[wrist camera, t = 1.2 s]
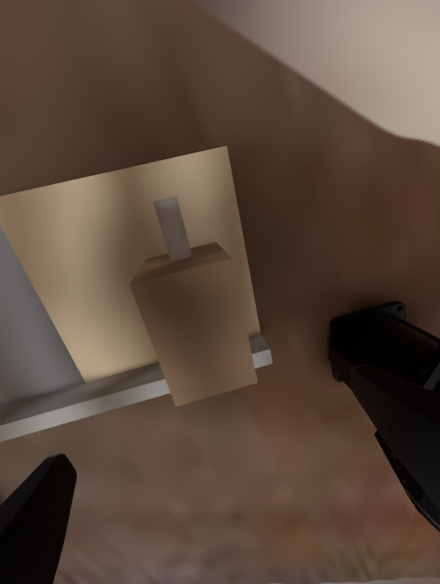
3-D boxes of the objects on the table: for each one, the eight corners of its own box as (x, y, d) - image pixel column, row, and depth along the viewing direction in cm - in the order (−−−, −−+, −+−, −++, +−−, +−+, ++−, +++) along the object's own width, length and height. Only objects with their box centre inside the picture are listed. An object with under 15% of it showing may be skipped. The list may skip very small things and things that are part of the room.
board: (222, 151, 15) (234, 136, 11) (258, 341, 20) (273, 368, 17) (-142, 232, 13) (-247, 241, 10) (-3, 414, 18) (-43, 459, 15)
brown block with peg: (205, 191, 14) (217, 184, 9) (237, 335, 18) (257, 382, 13) (128, 209, 14) (100, 211, 9) (177, 352, 17) (175, 406, 13)
